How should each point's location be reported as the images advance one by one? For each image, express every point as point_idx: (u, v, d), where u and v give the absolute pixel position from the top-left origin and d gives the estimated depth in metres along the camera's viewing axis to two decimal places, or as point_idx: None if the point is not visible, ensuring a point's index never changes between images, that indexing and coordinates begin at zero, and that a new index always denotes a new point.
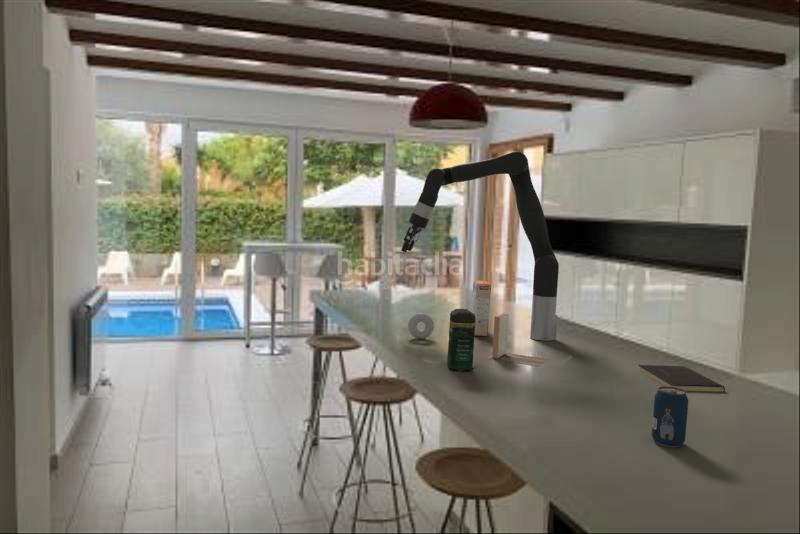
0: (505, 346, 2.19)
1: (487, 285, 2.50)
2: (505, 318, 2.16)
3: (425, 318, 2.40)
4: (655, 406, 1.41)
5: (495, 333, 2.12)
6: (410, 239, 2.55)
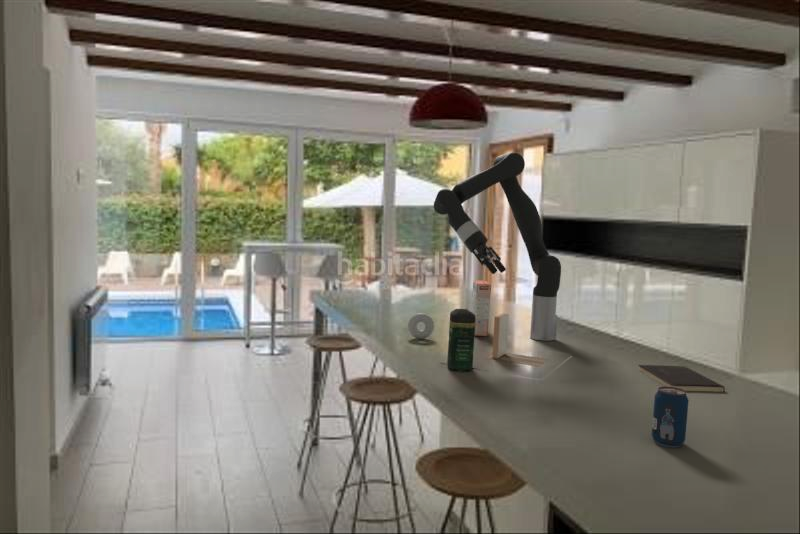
0: (505, 346, 2.19)
1: (487, 285, 2.50)
2: (505, 318, 2.16)
3: (425, 318, 2.40)
4: (655, 406, 1.41)
5: (495, 333, 2.12)
6: (484, 257, 2.18)
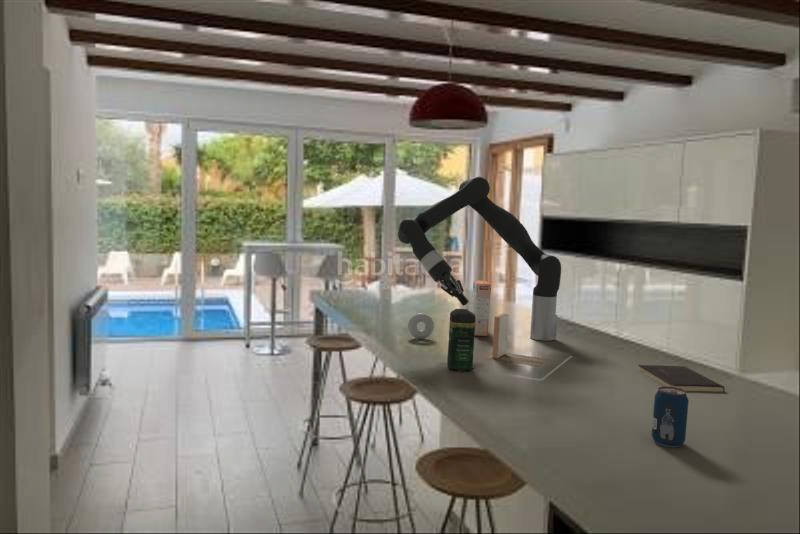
0: (505, 346, 2.19)
1: (487, 285, 2.50)
2: (505, 318, 2.16)
3: (425, 318, 2.40)
4: (655, 406, 1.41)
5: (495, 333, 2.12)
6: (454, 290, 2.20)
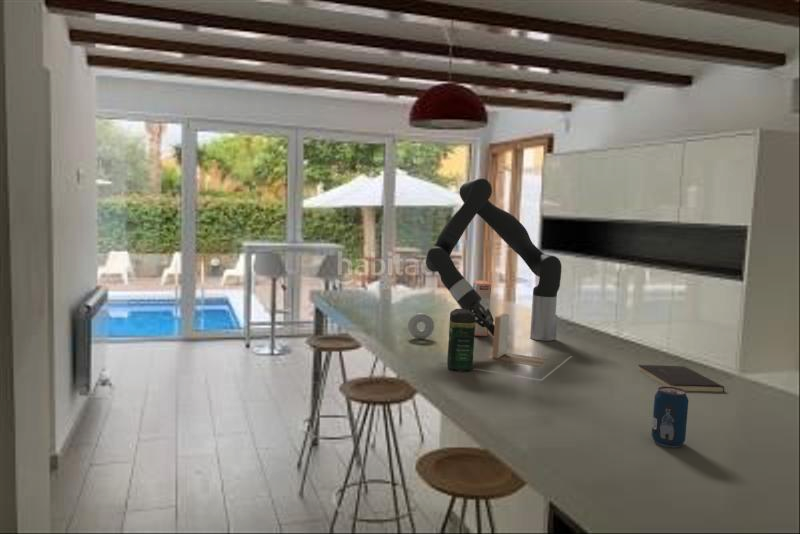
0: (505, 346, 2.19)
1: (487, 285, 2.50)
2: (505, 318, 2.16)
3: (425, 318, 2.40)
4: (655, 406, 1.41)
5: (496, 333, 2.12)
6: (485, 320, 2.15)
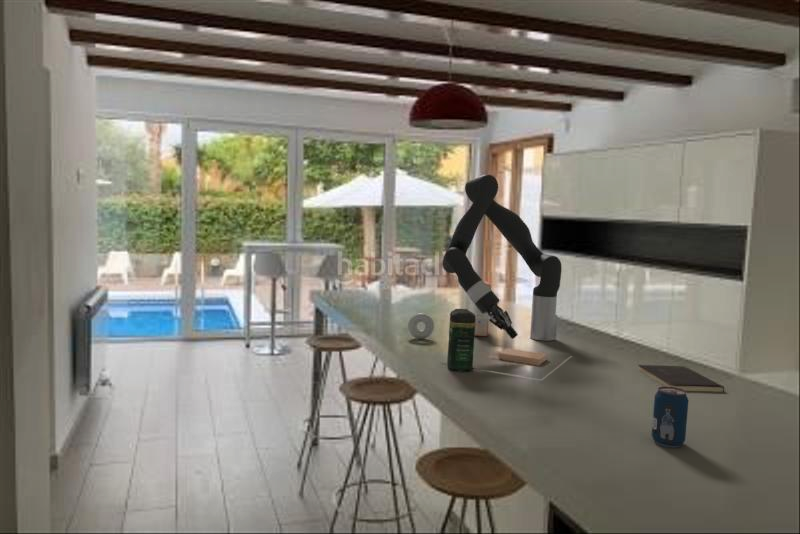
0: None
1: None
2: None
3: (425, 318, 2.40)
4: (655, 406, 1.41)
5: (522, 358, 2.08)
6: (503, 323, 2.12)
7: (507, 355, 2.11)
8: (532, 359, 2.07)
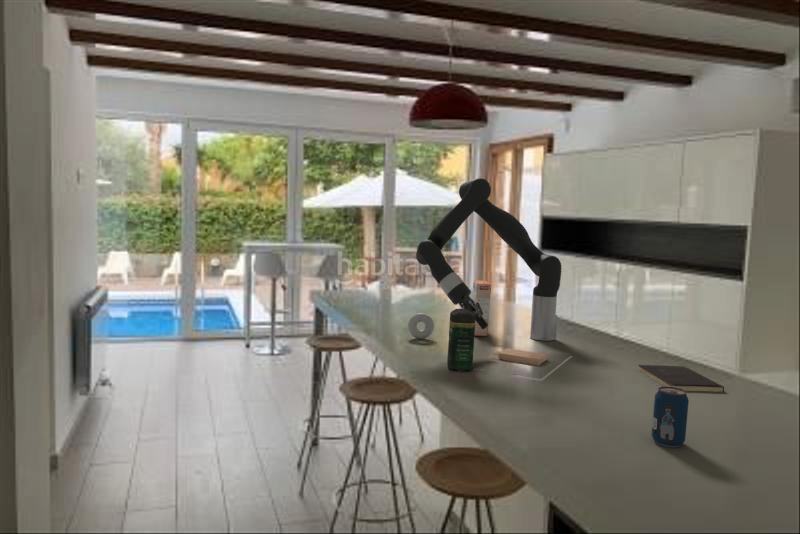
0: None
1: (487, 285, 2.50)
2: None
3: (425, 318, 2.40)
4: (655, 406, 1.41)
5: (522, 358, 2.08)
6: (474, 313, 2.16)
7: (507, 355, 2.11)
8: (532, 359, 2.07)
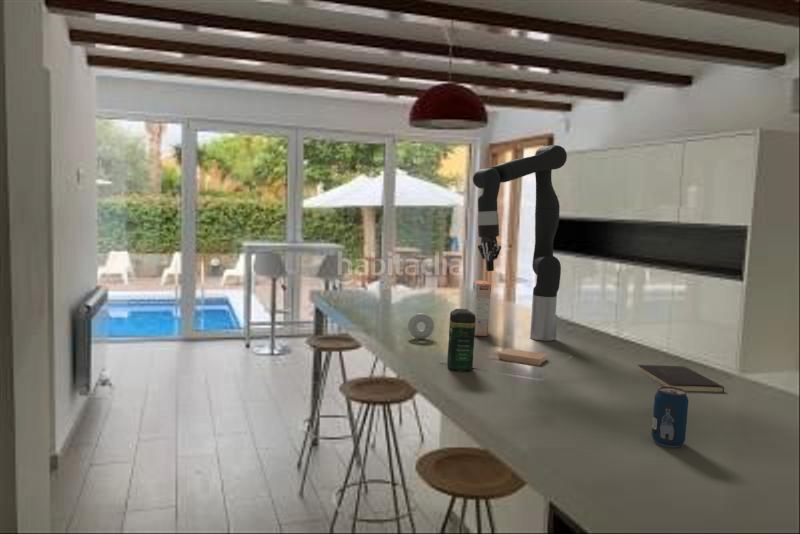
0: None
1: (487, 285, 2.50)
2: None
3: (425, 318, 2.40)
4: (655, 406, 1.41)
5: (522, 358, 2.08)
6: None
7: (507, 355, 2.11)
8: (532, 359, 2.07)
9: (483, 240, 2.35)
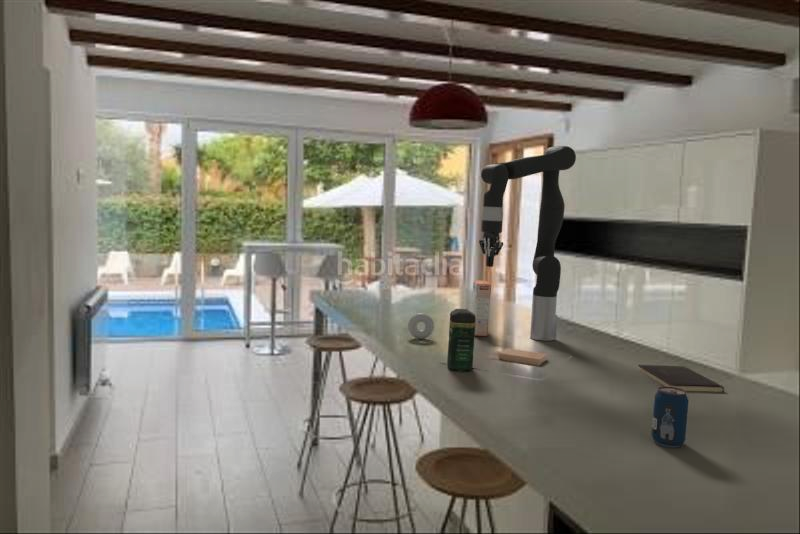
0: None
1: (487, 285, 2.50)
2: None
3: (425, 318, 2.40)
4: (655, 406, 1.41)
5: (522, 358, 2.08)
6: None
7: (507, 355, 2.11)
8: (532, 359, 2.07)
9: (485, 235, 2.36)
